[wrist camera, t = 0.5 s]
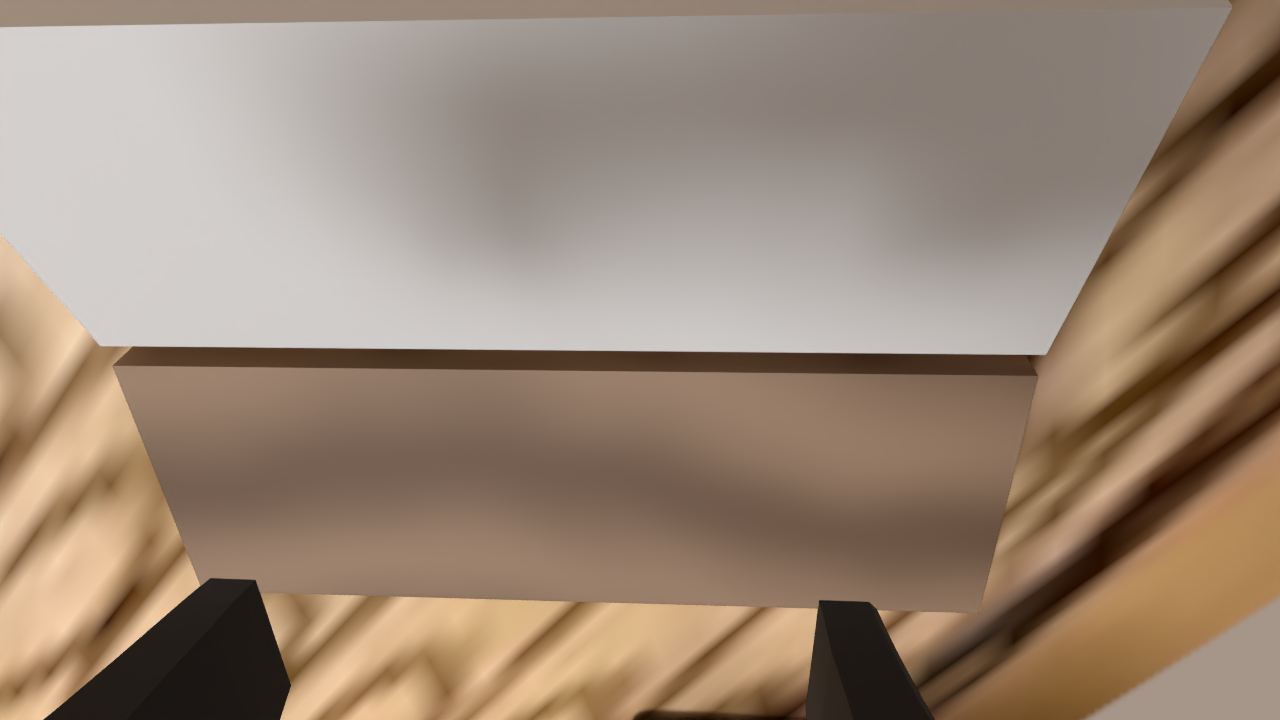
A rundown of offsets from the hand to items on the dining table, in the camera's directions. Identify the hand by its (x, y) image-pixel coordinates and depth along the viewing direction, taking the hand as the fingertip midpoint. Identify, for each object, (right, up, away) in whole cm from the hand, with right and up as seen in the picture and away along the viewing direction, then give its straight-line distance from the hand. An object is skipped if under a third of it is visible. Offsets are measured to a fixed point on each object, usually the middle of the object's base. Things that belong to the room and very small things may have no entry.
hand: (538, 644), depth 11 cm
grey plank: (-1, +7, +5) cm, 9 cm away
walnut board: (0, +1, +10) cm, 10 cm away
